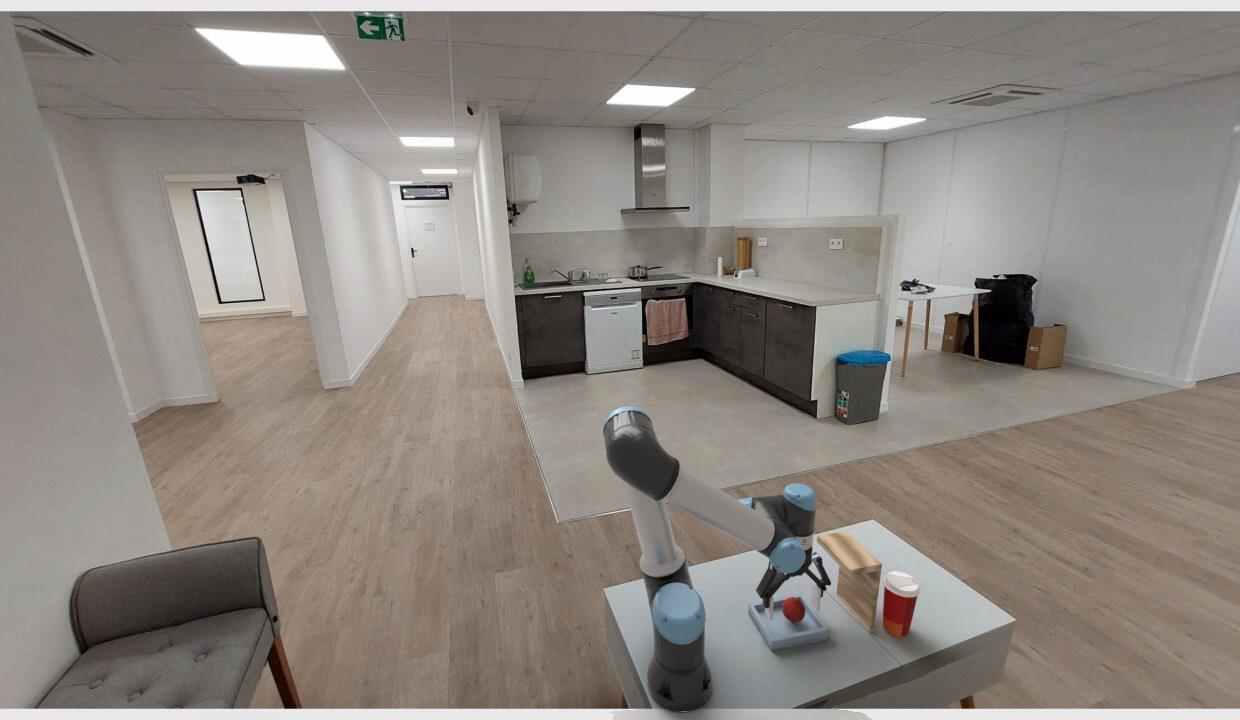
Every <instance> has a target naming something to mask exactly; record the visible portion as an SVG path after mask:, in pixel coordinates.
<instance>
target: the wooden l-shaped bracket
mask: <svg viewBox="0 0 1240 720" xmlns="http://www.w3.org/2000/svg"><path fill="white" fill-rule="evenodd" d="M816 543H817V544H818V545H820V547H821V548H822V549H823V550H824V551H825V552H826V553H827V554H828V556H829V557H830V558H831V559H832V560H833V561H834V562H835V563H836V564H837V565H838V577H837V587H836V595H837V596H838V597H839V599H840V600H841V601H842V602H843V603H844V604H845V606H846V607H847V608H848V609H849V611H851V612H852V613H851V614H853V615H854V616H855V617H856V619H858V621H859V622H860V623H861V624H862V625H863V627H864V628H865V629H866V630H867V631H868V633H872V632H874V631H875V623H876V616H877V606H878V601H879V599H878V598H879V592H880V582H881V575H882V567H883V563H882V562H880V561H879V560H878V559H877V557H875V556H874V555H873V554H872V553H871V552H870V551H868V550H867V548H865V547H864V546H863V545H862V544H861V543H860V542H859V541H858V540H857V539H856V538H855V537H854V536H853V535H851V534H850V533H849V532H848V531H847V530H845V531H840V532H834V533H828V534H821V535H817V536H816Z"/></svg>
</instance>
